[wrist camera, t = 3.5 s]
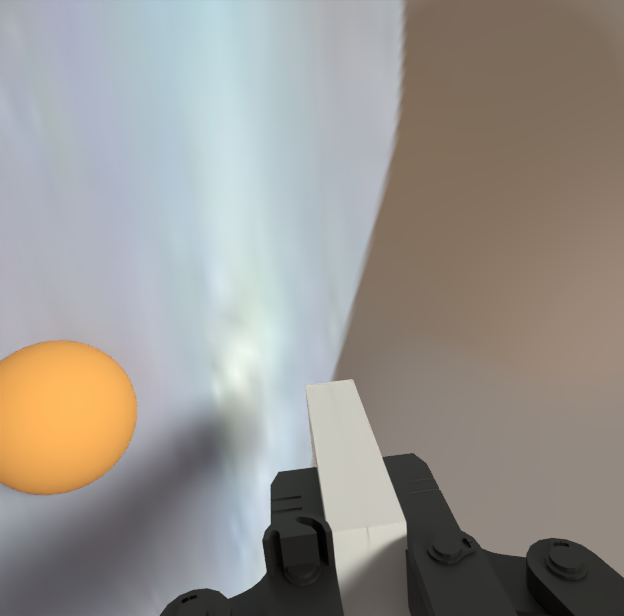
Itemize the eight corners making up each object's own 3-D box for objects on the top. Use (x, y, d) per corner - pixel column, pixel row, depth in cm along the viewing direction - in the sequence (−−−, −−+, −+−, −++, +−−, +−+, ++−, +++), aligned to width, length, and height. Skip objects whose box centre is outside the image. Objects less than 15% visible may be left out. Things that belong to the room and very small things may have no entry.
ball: (102, 464, 23) (53, 557, 17) (-13, 396, 21) (-104, 473, 16) (176, 372, 22) (149, 440, 16) (61, 294, 20) (-9, 341, 15)
